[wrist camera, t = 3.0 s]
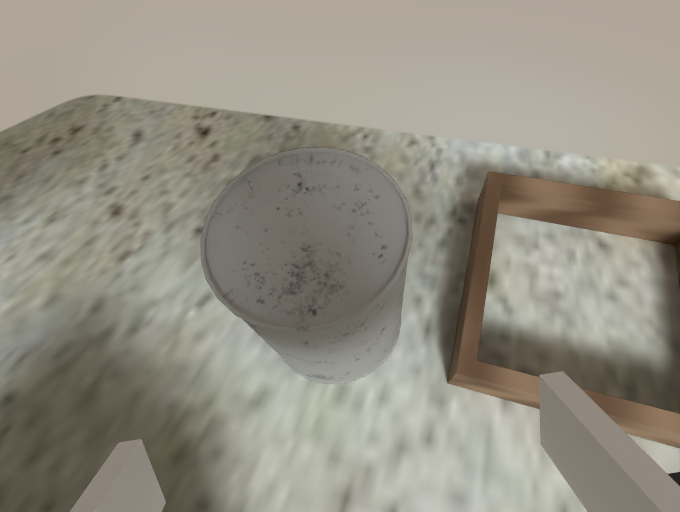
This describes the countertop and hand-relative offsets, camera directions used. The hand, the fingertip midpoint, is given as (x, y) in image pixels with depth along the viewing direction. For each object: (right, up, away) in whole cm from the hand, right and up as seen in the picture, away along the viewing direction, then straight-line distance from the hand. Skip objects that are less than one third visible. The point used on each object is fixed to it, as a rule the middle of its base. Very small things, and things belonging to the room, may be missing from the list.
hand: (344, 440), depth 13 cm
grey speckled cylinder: (-1, +2, +16) cm, 16 cm away
